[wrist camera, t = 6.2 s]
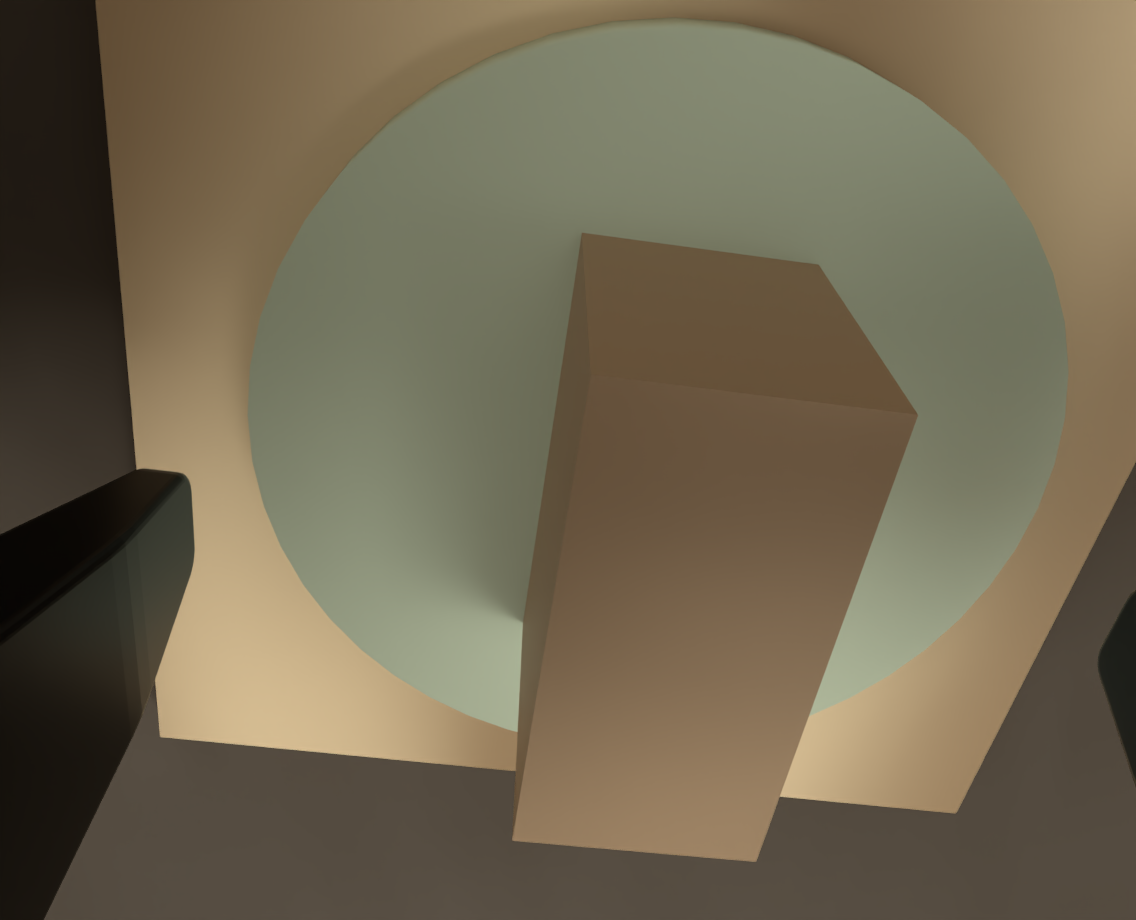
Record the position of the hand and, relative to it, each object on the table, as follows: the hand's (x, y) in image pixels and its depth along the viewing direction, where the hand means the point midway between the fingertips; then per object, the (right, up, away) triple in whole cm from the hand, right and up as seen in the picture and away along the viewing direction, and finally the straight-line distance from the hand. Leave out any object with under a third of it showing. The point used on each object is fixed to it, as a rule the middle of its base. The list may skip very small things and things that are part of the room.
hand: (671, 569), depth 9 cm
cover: (0, +1, +2) cm, 3 cm away
